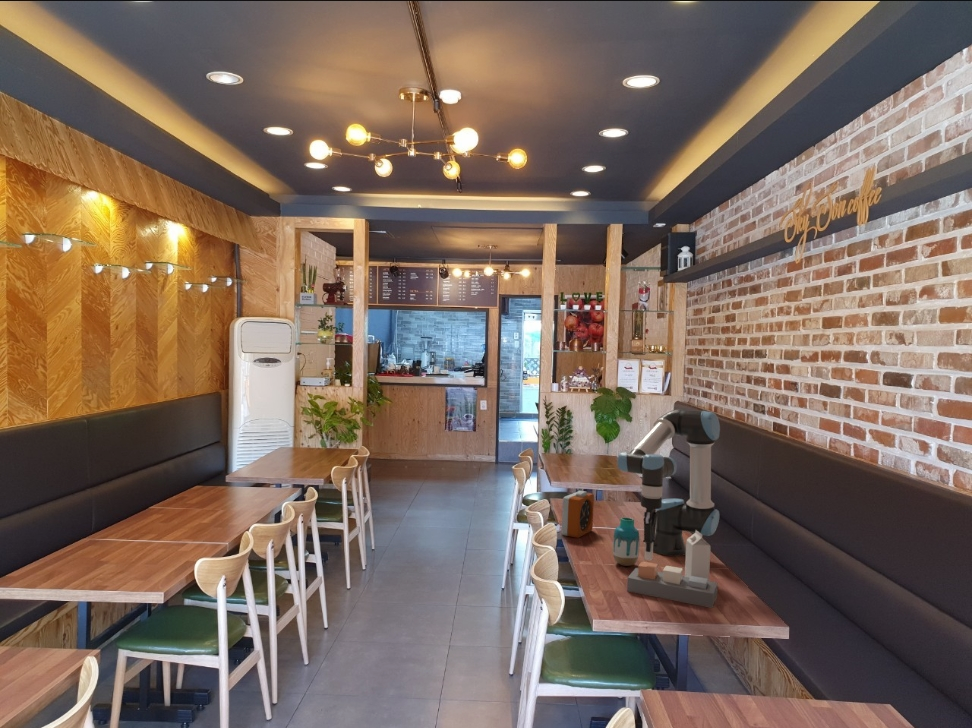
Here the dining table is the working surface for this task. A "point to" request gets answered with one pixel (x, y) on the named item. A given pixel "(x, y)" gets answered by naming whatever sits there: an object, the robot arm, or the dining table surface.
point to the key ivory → (672, 574)
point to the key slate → (698, 582)
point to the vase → (626, 542)
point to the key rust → (648, 570)
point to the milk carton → (697, 556)
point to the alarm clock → (577, 514)
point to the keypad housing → (673, 589)
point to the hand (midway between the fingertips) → (648, 559)
